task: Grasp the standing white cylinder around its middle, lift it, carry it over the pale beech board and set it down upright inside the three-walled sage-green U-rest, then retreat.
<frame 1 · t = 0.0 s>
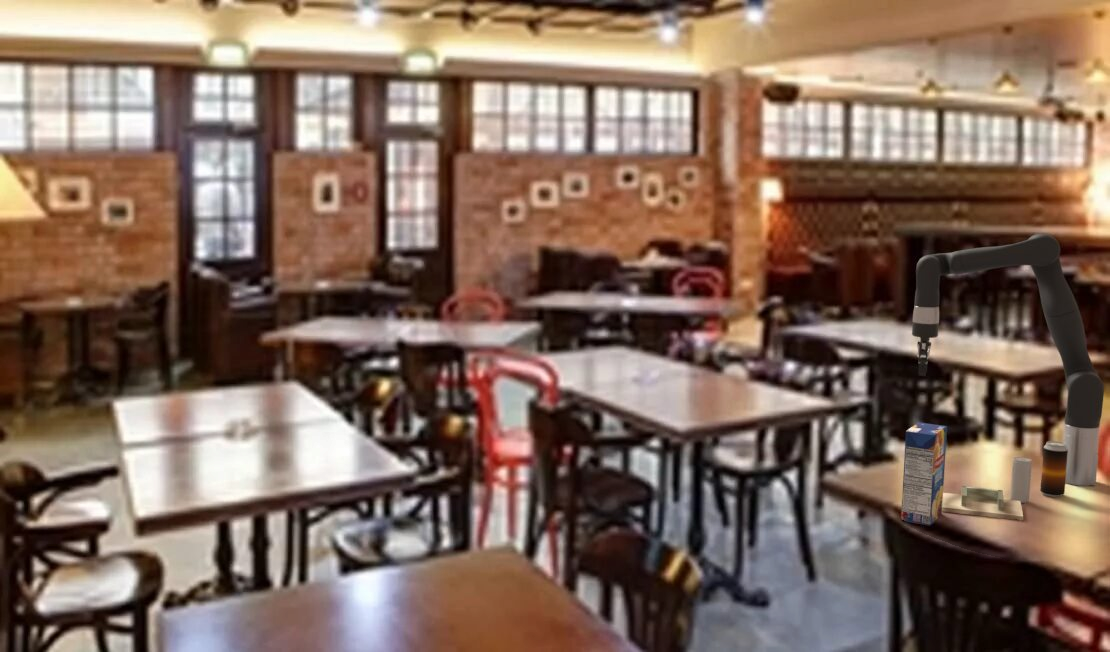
hand: (922, 373, 326), 29 cm above the table, fingers open, 8 cm apart
beverage can 2: (1052, 495, 301), on the table
white cylinder: (1019, 501, 295), on the table
rest: (981, 508, 289), on the table
juice carton: (921, 517, 281), on the table
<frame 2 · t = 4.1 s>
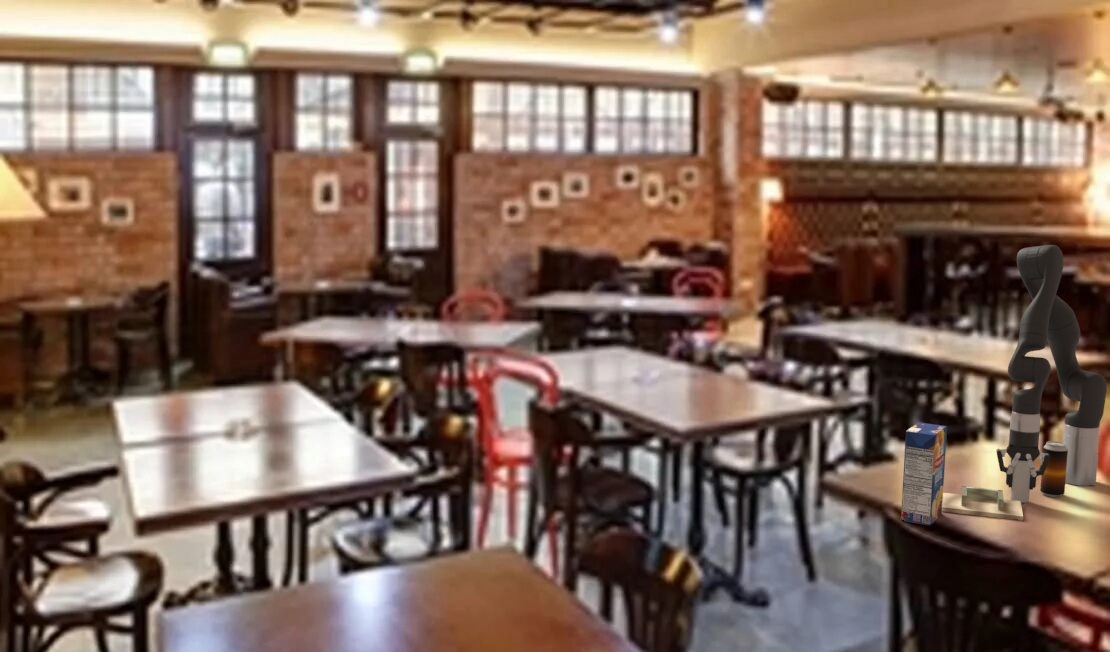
hand: (1020, 487, 295), 4 cm above the table, fingers closed on white cylinder, 5 cm apart
white cylinder: (1019, 501, 295), on the table, touching gripper
everything else where it was.
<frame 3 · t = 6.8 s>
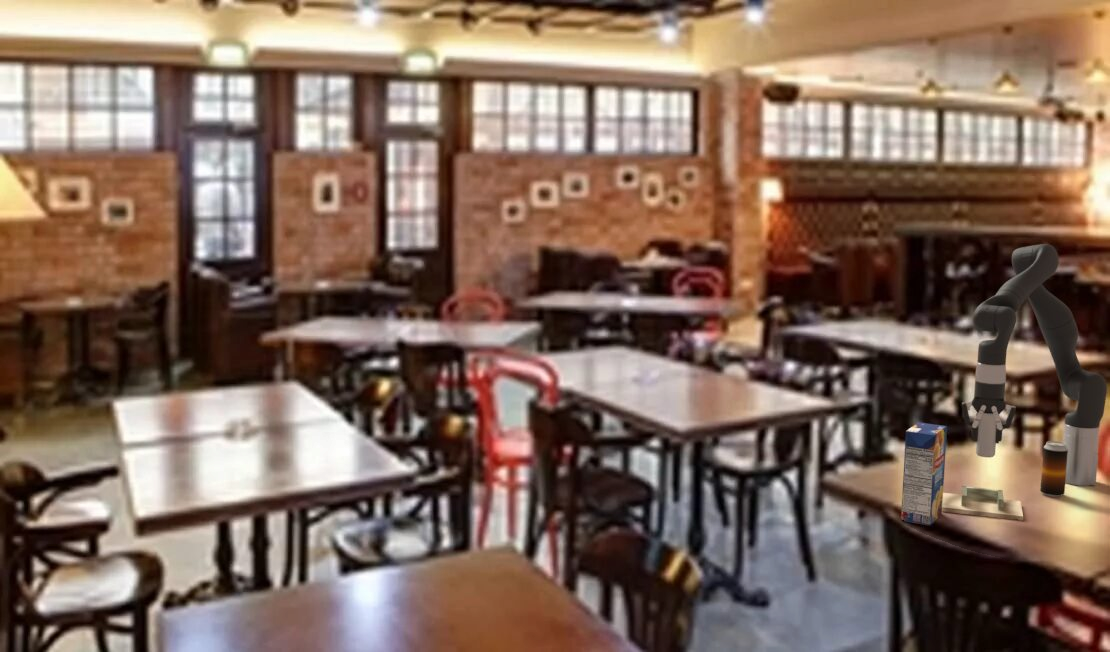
hand: (986, 441, 286), 19 cm above the table, fingers closed on white cylinder, 5 cm apart
white cylinder: (985, 456, 287), point 15 cm above the table, touching gripper
everything else where it was.
when the fingers open (6 cm above the table, at t = 9.8 s): white cylinder drops 1 cm, resting on rest.
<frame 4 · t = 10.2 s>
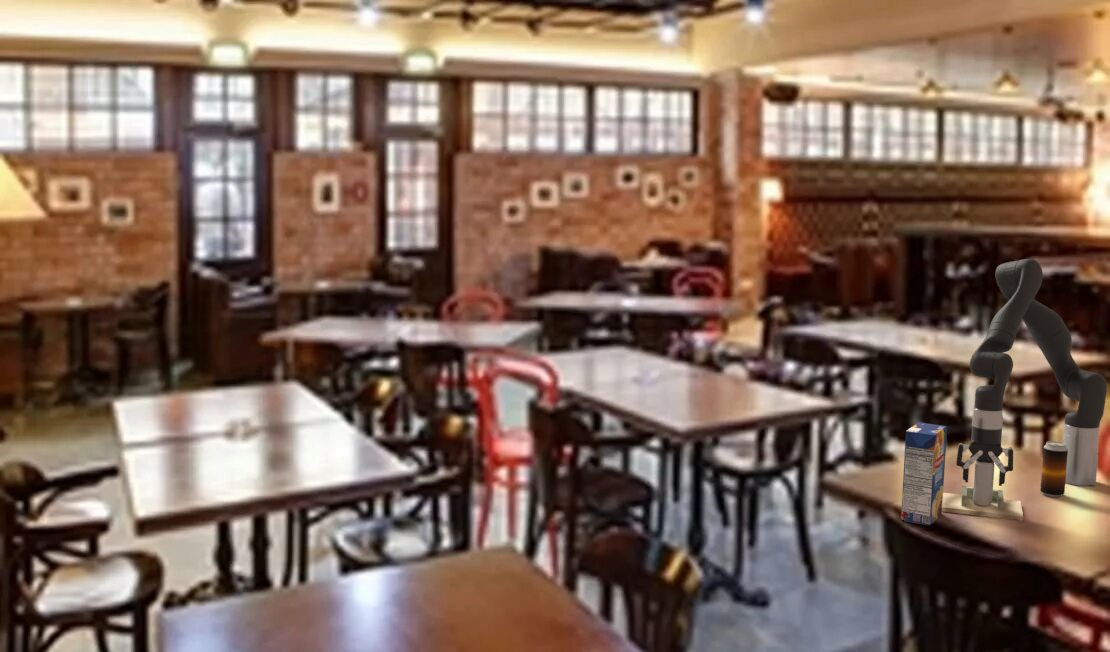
hand: (983, 483, 288), 7 cm above the table, fingers open, 8 cm apart
white cylinder: (982, 504, 288), point 1 cm above the table, touching rest
everything else where it was.
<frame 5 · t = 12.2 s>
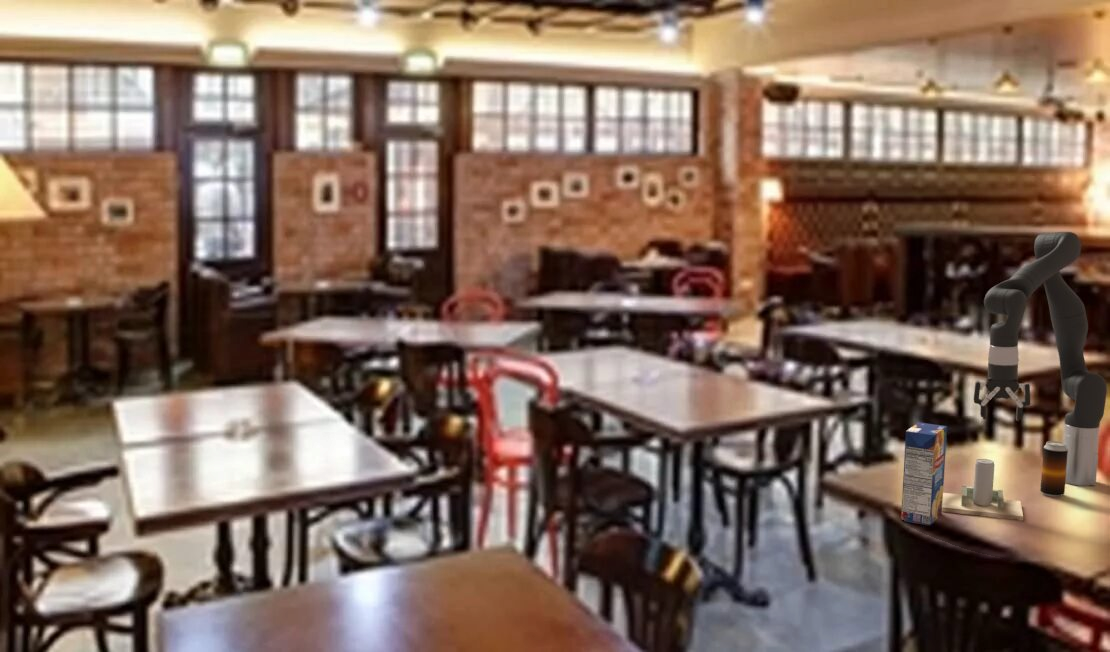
hand: (1000, 419, 292), 23 cm above the table, fingers open, 8 cm apart
nothing on the table moved.
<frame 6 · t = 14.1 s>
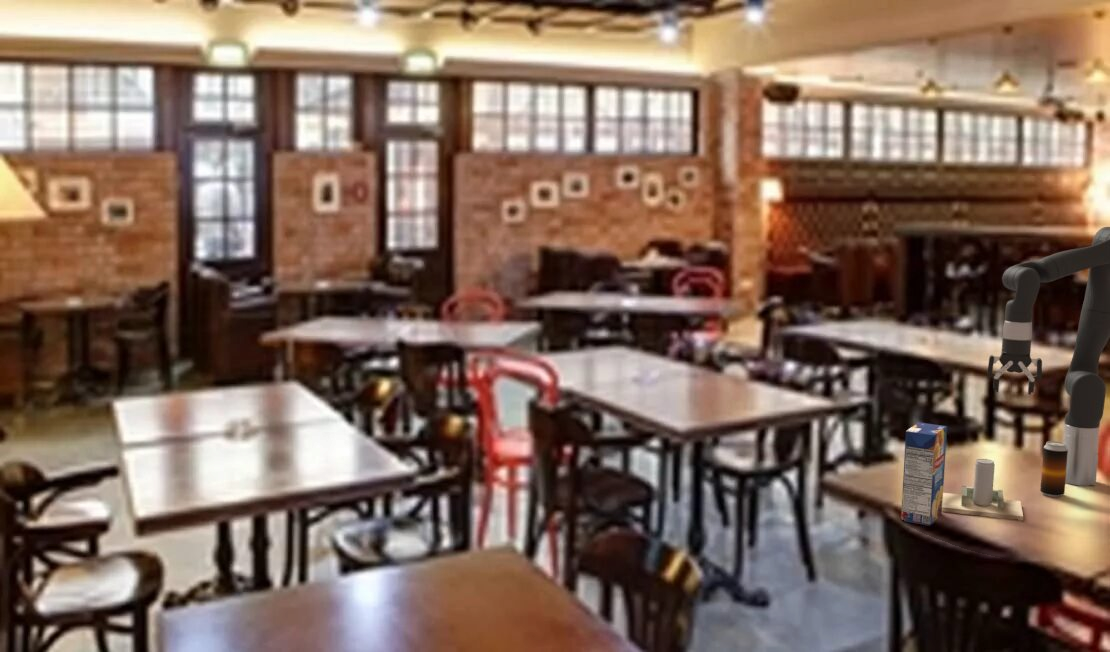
hand: (1012, 392, 303), 28 cm above the table, fingers open, 8 cm apart
nothing on the table moved.
at the end: white cylinder 0.1 cm off-centre on the rest, point 1.0 cm above the rest's base; white cylinder tilted 0°; the gripper is holding nothing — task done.
